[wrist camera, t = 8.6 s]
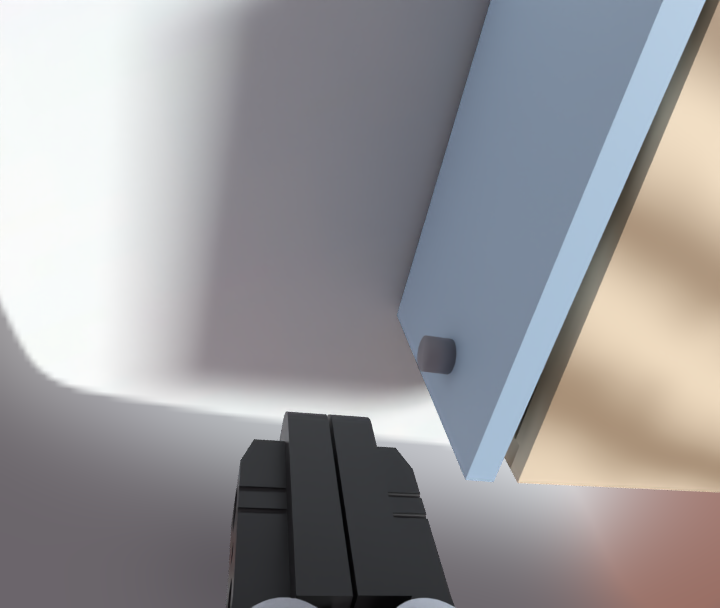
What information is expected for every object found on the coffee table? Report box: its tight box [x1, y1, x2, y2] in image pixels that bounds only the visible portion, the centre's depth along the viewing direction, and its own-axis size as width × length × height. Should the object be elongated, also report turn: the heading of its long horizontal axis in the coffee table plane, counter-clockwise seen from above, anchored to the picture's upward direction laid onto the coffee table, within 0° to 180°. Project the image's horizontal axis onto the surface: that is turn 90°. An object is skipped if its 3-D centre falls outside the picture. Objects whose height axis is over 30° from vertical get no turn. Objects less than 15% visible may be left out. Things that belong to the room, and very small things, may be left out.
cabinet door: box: [397, 0, 706, 482], centre depth 24 cm, size 21×2×13 cm, turn 166°
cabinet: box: [504, 0, 720, 492], centre depth 26 cm, size 20×12×14 cm, turn 169°
